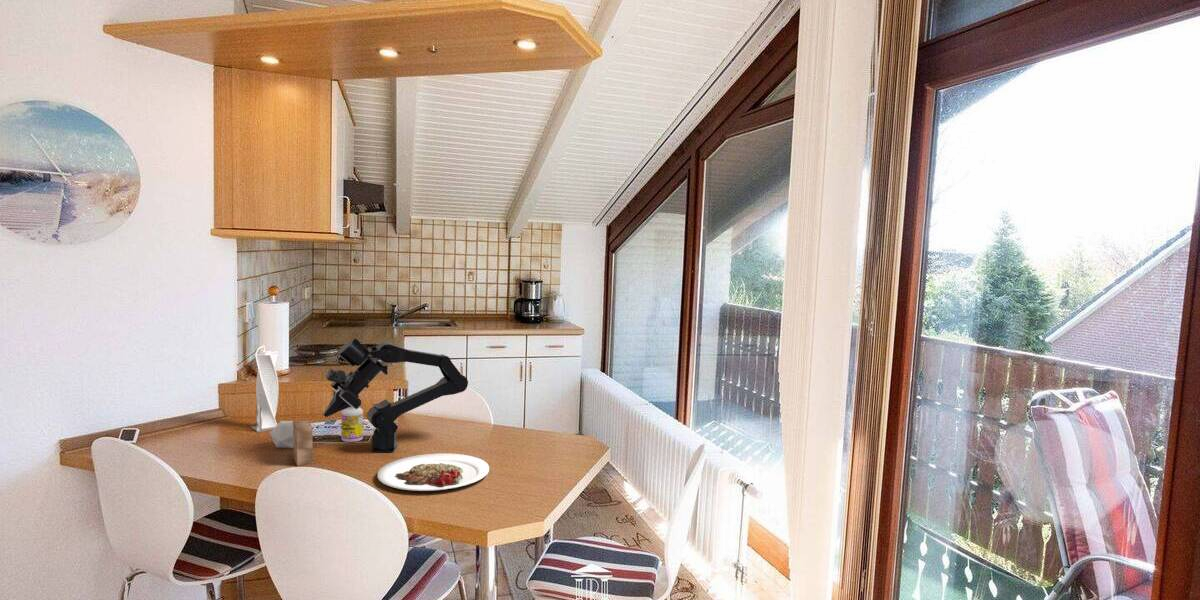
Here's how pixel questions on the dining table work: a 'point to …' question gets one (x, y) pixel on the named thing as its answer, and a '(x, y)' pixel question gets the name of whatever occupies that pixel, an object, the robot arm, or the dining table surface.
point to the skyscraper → (266, 390)
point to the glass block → (302, 442)
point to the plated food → (433, 472)
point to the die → (283, 434)
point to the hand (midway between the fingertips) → (324, 415)
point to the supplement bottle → (352, 424)
